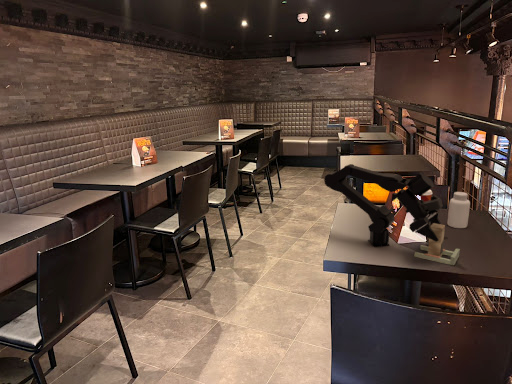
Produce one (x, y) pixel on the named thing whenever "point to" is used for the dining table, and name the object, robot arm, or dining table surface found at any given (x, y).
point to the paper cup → (427, 196)
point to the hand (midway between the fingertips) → (440, 236)
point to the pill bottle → (458, 210)
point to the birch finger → (434, 246)
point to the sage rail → (451, 261)
